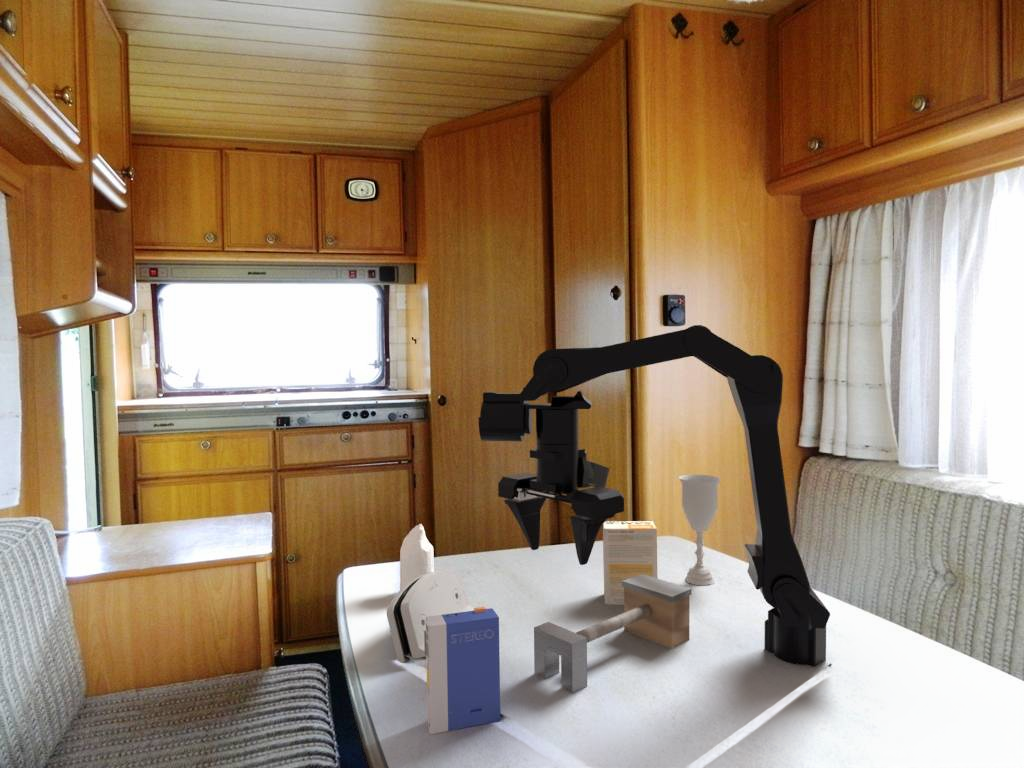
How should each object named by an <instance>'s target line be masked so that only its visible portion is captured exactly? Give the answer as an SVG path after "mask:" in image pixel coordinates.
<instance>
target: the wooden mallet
mask: <svg viewBox="0 0 1024 768" xmlns="http://www.w3.org/2000/svg"><path fill="white" fill-rule="evenodd" d="M622 587H624V605H623V609H624V610H623V613H621V614H618V615H615V616H613V617H610V618H608V619H606V620H603V621H601V622H599V623H596V624H593V625H591V626H589V627H586V628H583V629H581V630H578V631H577V632H575V633H577V634H579V635H582V636H584V637H587V644H589V643H590V642H593V641H594V640H597V639H600V638H601V637H604V636H606V635H608V634H611V633H613V632H615V631H618V630H620V629H622V628H623V629H624V630H623V631H625V632H628V633H630V634H633V635H635V636H638V637H641V638H643V639H646V640H649V641H651V642H654V643H657V644H659V645H662V646H664V647H667V648H669V649H674V648H677V647H678V646H680V645H682V644H684V643H686V642H687V641H690V596H691V595H692V594H693V593H692V588H691V587H687V586H685V585H684V586H683V585H681V584H677V583H674V582H671V581H667V580H664V579H661V578H658V579H657V578H654V577H650V576H647V575H643V574H640V575H637V576H635V577H632V578H629V579H626V580H623V581H622Z"/></svg>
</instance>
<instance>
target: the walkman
mask: <svg viewBox="0 0 1024 768" xmlns="http://www.w3.org/2000/svg"><path fill="white" fill-rule="evenodd" d="M424 651H425V655H426V657H425V659H426V661H425V662H426V665H425V666H426V704H427V705H426V707H427V708H426V711H427V712H426V713H427V728H428V729H427V730H428V732H429V735H434V734H439V733H444V732H449V731H455V730H460V729H465V728H466V729H467V728H470V727H476V726H480V725H481V726H482V725H486V724H492V723H496V722H501V681H500V680H501V675H500V674H501V673H500V669H501V667H500V666H501V664H500V662H501V661H500V616H499V615H498V614H497V613H496V611H495V610H494V608H491V607H490V608H486V607H485V606H478V607H475V608H474V611H467V612H459V613H451V614H444V615H436V616H429V617H426V631H424Z"/></svg>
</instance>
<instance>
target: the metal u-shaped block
mask: <svg viewBox="0 0 1024 768" xmlns="http://www.w3.org/2000/svg"><path fill="white" fill-rule="evenodd" d="M533 650H534V651H533V652H534V653H533V658H534V659H533V661H534V665H533V666H534V673H533V674H534V675H535V676H537V677H539V678H541V679H542V680H547V679H549V678H551V677H553V676H556V675H557V674H559V673H560V674H561V676H560V678H561V679H560V681H561V687H560V688H561V689H562V690H565V691H566V692H569V693H570V694H574V693H577V692H578V691H581V690H583V689H585V688H586V687H588V643H587V637H584V636H582V635H579V634H577V633H576V632H575V631H572V630H569V629H567V628H564V627H562V626H559V625H558V624H555V623H553V622H550V621H547V622H545V623H542V624H539V625H536V626H534V627H533ZM560 665H561V666H560ZM560 671H561V672H560Z"/></svg>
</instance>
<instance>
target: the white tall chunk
mask: <svg viewBox="0 0 1024 768" xmlns="http://www.w3.org/2000/svg"><path fill="white" fill-rule="evenodd" d="M408 532H409V533H408V534H407V535H406V536H405V537H404V539H403V541H402V544H401V547H400V551H399V553H400V554H399V555H400V556H399V557H400V558H399V581H400V582H399V590H400V589H401V588H403V587H404V586H405V585H406V584H407V583H409V582H410V581H412V580H414V579H416V578H417V577H419V576H422V575H424V574H428V573H431V572H435V567H434V566H435V565H434V563H435V562H434V561H435V560H434V559H435V557H434V556H435V555H434V550H435V549H434V546H433V545H432V544H431V543H430V541H429V539H428V538H427V536H426V531H425V528H424V526H423V524H422V523H419V524H418V525H415V526H414V527H413V528H411V530H410V531H408Z"/></svg>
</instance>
